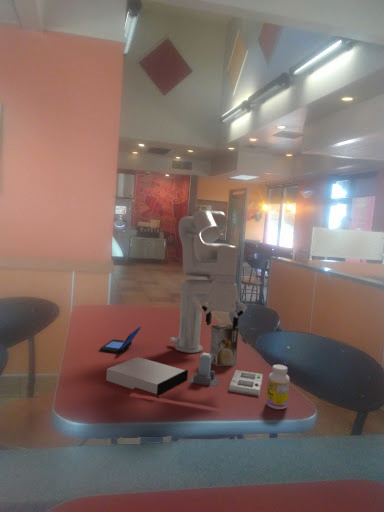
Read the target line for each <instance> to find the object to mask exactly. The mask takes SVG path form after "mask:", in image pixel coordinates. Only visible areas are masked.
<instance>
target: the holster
mask: <svg viewBox="0 0 384 512" xmlns="http://www.w3.org/2000/svg"><path fill="white" fill-rule="evenodd" d="M215 373H216V371H215V370H211V372H210V377H206V376H200V375H198V374H199V368H198V369H197V374H195V373H194V374H192V375H191V376H190V378H189V379H188V380H187V383H192V384H197V385H204V386H209V387H217V384H218V383H219V380H220V378H218V377H215Z"/></svg>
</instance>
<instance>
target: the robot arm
mask: <svg viewBox="0 0 384 512" xmlns="http://www.w3.org/2000/svg"><path fill="white" fill-rule="evenodd" d="M227 226H228V218H227V214H226V213H224V212H223V211H221V210H220V211H218V210H211V209H210V210H208V209H200V210H197V211H196V212H195V213H193V215H192V216H191V215H187V216H183V217H181V219H180V220H179V222H178V236H179V240H180V243H181V246H182V271H183V274H184V275H185V276H187V277H191V278H192V279H189V278H188V279H186V280H183V281H182V282H181V284H180V286H179V290H180V291H179V292H180V316H179V328H178V329H179V330H178V331H179V332H178V337H174V336H173V337H172V336H171V337H169V342H170V343H171V344H172V343H173V344H175V345H174V350H176V351H179V352H182V353H187V354H189V353H190V354H193V353H200V352H202V351H203V346H202V345H201V344H200V341H201V328H202V314H203V313H202V311H203V312H204V313H205V322H206V326H209V325H211V323H212V316H213V315H212V311H217V312H224V313H232V315H233V316H234V317H233V319H232V320H233V321H232V326H233V329H235V328H236V327H238V326H239V319H240V318H239V317H240V316H242V315H243V314H244V313H245V311H246V310H247V308H248V306H247V304H245V303H243V302H241V300H239V293H238V284H237V283H236V276H237V265H238V251H239V250H238V246H236V245H231V244H229V243H219V242H215V241H217V240H218V239H219V238H220V235H221V233H222V232H223V231H224V230H226V228H227ZM194 278H205V279H194ZM198 302H199V303H200V305H199V303H198ZM207 302H208V303H207ZM206 303H207V305H206ZM238 306H239V307H241V310H240V311H238Z"/></svg>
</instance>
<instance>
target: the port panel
mask: <svg viewBox="0 0 384 512" xmlns="http://www.w3.org/2000/svg"><path fill="white" fill-rule="evenodd" d="M263 377H264V376H263V373H257V372H251V371H245V370H238V369H236V370H235V371H234V374H233V376H232V379H231V381H230V384H229V389H228V392H231V393H232V392H234V393H237V394H243V395H244V394H245V395H251V396H256V397H258V400H259V398H260V393H261V390H262V385H263Z"/></svg>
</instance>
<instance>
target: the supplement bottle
mask: <svg viewBox="0 0 384 512" xmlns="http://www.w3.org/2000/svg"><path fill="white" fill-rule="evenodd" d="M271 368H272V372H270V373H269V375H268V379H267V380H268V381H267V391H266V403H265V404H266V405H267V407H270V408H272V409H274V410H284V409H286V408H287V407H288V400H289V389H290V380H291V379H290V376H289V375H288V374H287V373H288V369H289V368H288V367H287V366H286V365H283V364H274V365H272V367H271Z"/></svg>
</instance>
